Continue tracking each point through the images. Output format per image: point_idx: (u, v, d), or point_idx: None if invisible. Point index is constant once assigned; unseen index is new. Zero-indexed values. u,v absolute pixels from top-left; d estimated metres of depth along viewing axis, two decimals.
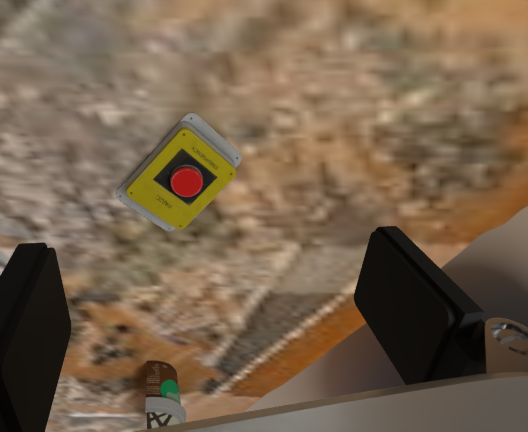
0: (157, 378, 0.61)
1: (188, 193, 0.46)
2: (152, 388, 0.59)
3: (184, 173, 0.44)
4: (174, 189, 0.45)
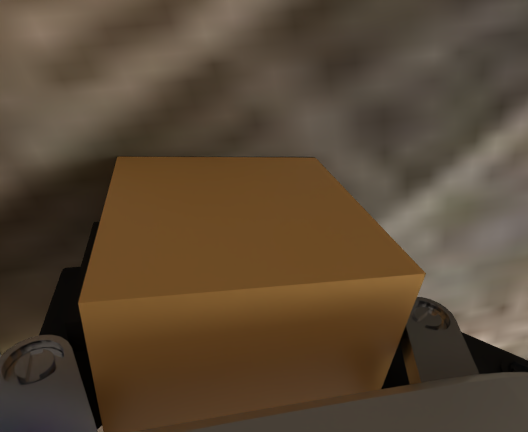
0: None
1: None
2: None
3: None
4: None
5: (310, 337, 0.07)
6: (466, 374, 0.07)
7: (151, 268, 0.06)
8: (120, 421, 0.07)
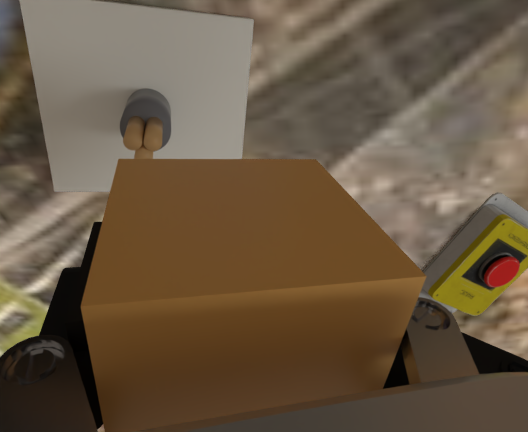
0: None
1: (502, 283, 0.39)
2: None
3: (503, 265, 0.38)
4: (489, 283, 0.39)
5: (311, 339, 0.07)
6: (466, 374, 0.07)
7: (153, 271, 0.06)
8: (122, 423, 0.07)
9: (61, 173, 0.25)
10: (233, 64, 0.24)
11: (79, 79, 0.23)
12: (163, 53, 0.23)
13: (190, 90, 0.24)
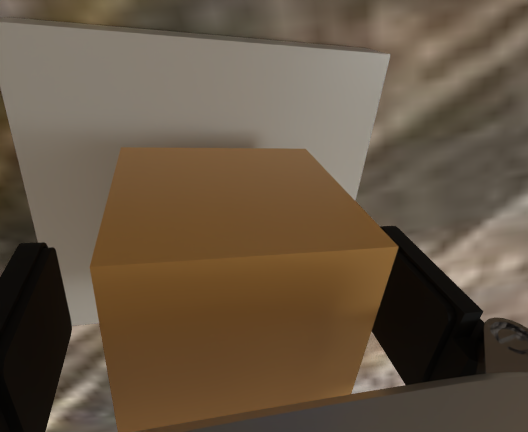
0: None
1: None
2: None
3: None
4: None
5: (296, 304, 0.08)
6: None
7: (153, 240, 0.07)
8: (125, 380, 0.08)
9: (69, 302, 0.16)
10: (348, 125, 0.15)
11: (98, 164, 0.13)
12: (240, 115, 0.14)
13: None
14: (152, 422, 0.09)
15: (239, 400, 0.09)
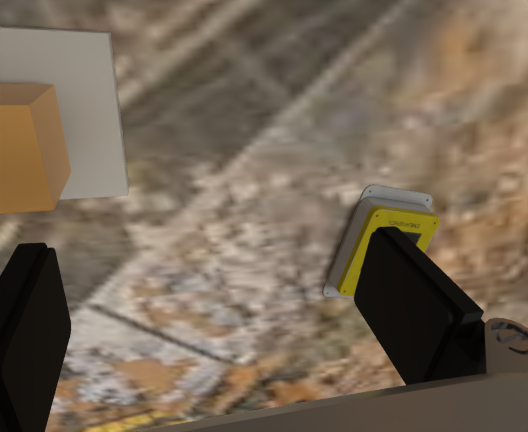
0: None
1: None
2: None
3: None
4: None
5: None
6: None
7: None
8: None
9: None
10: (96, 75, 0.26)
11: None
12: (24, 70, 0.25)
13: (58, 102, 0.26)
14: None
15: None
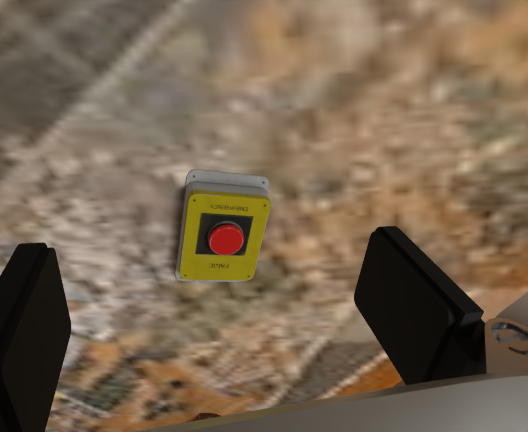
0: None
1: (234, 249, 0.41)
2: None
3: (218, 235, 0.40)
4: (219, 253, 0.41)
5: None
6: None
7: None
8: None
9: None
10: None
11: None
12: None
13: None
14: None
15: None
